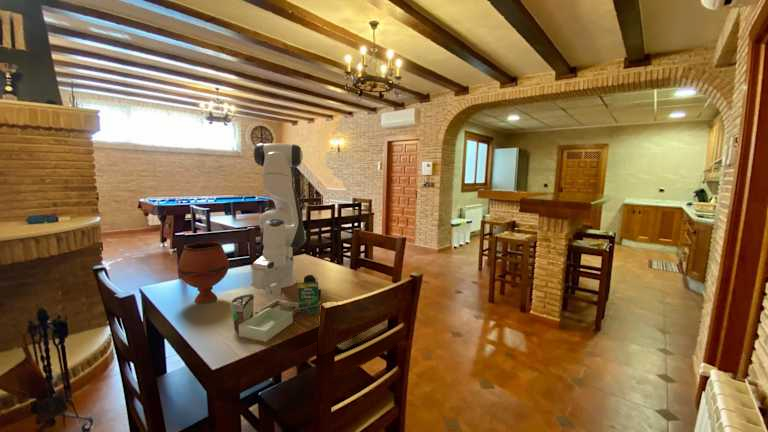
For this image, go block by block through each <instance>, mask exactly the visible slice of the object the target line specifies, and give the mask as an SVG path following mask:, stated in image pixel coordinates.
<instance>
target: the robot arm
mask: <svg viewBox="0 0 768 432" xmlns="http://www.w3.org/2000/svg"><path fill="white" fill-rule="evenodd" d="M303 154H304V153H303V151H302V148H301V147H300V145H298V144H292V143H291V144H290V143H281V142H278V143H276V142H275V143H272V142H271V143H264V142H263V143H262V142H261V143H256V145H255V146H254V148H253V152H252V157H253V159H254V162H255V164H257V165H258V166H261V167H263V168H262V176H261V177H262V178H261V179H262V187H263V190H264V191H265V193H267V194H268V197H269V198H270V199H271V200H272V201H273V203H274V207H275V209H268V210H266V211H265V212H263V213H261V214H260V215H259V217H258V225H259V228H260V232H259V233H260V241H259V242H260V244H261V245H262V246H263V250H262V255H261V256H259V258H257V259H256V260H255V261H254V262H252V268H254V269H253V270H252V279H251V282H250V285H252V286H253V288H255V289H259V290H262V289H265V294H267V295H270V294H272V290H270V287H271V284H273V283H275V284H279V285H281V289H282V288H288V287H291V286H294V285H295V284H296V283H297V281H296V278H295V273H294V255H293V248H296V249H298V248H301V247H302V246H303V245H304V244H305V243H306V240H307V236H306V235H307V234H306V230H305V228H304V222H303V217H302V212H301V206H300V202H299V201H300V200H299V196H298V195H299V194H298V193H297V190H296V189H295V188H293V177H292V169H293V170H295V168H297V167H299V166H300V165H301V164H302V162H303V159H304V158H303V157H304V155H303ZM291 167H292V168H291Z"/></svg>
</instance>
